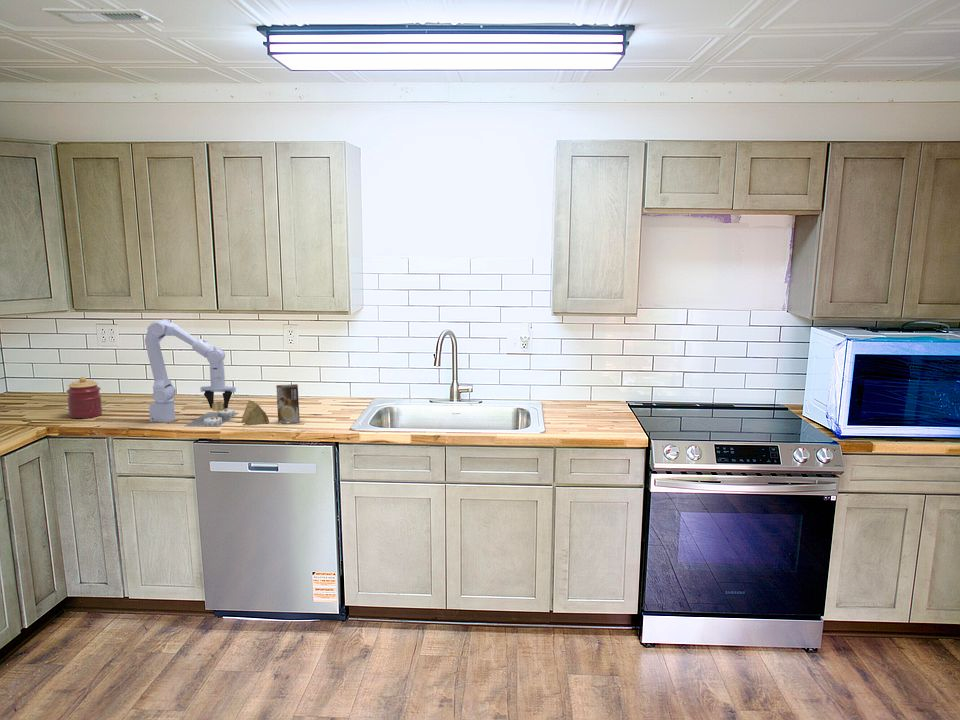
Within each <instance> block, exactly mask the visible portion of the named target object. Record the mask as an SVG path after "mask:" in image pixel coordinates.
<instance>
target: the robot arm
mask: <svg viewBox="0 0 960 720" xmlns="http://www.w3.org/2000/svg"><path fill="white" fill-rule="evenodd" d="M146 329H147V332H146V335H145V338H144V345H145V347H146V348H145V349H146V352H147V357H148V361H149V365H150V369H151V373H152V376H153V381H154V382H153V385H152V389H153V391H152V398H153V400H154V401H152V402H151V403H150V404H149V407H148V409H149V410H148V411H149V423H152V422H157V423H158V422H159V423H165V422H166V423H167V422H172V421H175V420H176V413H175V412H176V411H175V399H174V397H175V396H176V394H177V390H176V388H175V386H173V383H172V381H171V380H170V379H169V376H168V374H167V373H168V372H167V369H166V365H165V360H164V357H163V353H162V347H161V345H160V343H161V341H162V340H163V339H164V338H165V337H167V336H169V337H170V336H171V337H176V338H178V339H180V340H181V341H183V342H184V343H187V344H188V345H189V346H191V347H192V348H191V349H192V350H193V351H195V352H196V353H198V354H199V355H201V356H202V357H204V358H206V360H207V362H209V379H210V386H201V387H200V392H201V393H203V395H204V398H205V399H206V401H207V402H208V404H209V408H210V409H212V403H214V402H215V401H214V400H215V399H214V397H215V395H214V394H215V392H216V393H217V392H218V393H222V396H223V398H222V399H223V402H224V408H225V409H228V408H229V403H230V399H231V397H232V395H233V393H236V390H237V389H236V388H237V387H236V386H227V385H226V380H225V379H226V378H225V377H226V375H225V363H224V360H225V358H226V353H225V351H224V350H223V349H222V348H219V347H218V348H217V346H215V345H212V344H210V343H209V342H207V341H208V340H207V339H205V338H203V339H202V338H198V339H197V338H196V337H194V336H192V335H191V334H190V333H188V332H187V331H186V330H184V329H183V328H182V327H180V326H179V325H177V324H176V323H175V322H173V321H171V320H169V319H167V318H163V319H161V320H156V321H153V322H151V323H150V324H149V325H148V327H147V328H146Z"/></svg>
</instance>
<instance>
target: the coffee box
mask: <svg viewBox="0 0 960 720" xmlns="http://www.w3.org/2000/svg"><path fill="white" fill-rule="evenodd" d="M275 387H276V403H277V405H276V406H277V421H278V422H277V424H278V423H286V424H288V423H287V422H301V420H300V403H299V402H300V401H299V385H298V384H295V383H294V384H278V385H277V384H276V386H275Z"/></svg>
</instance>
